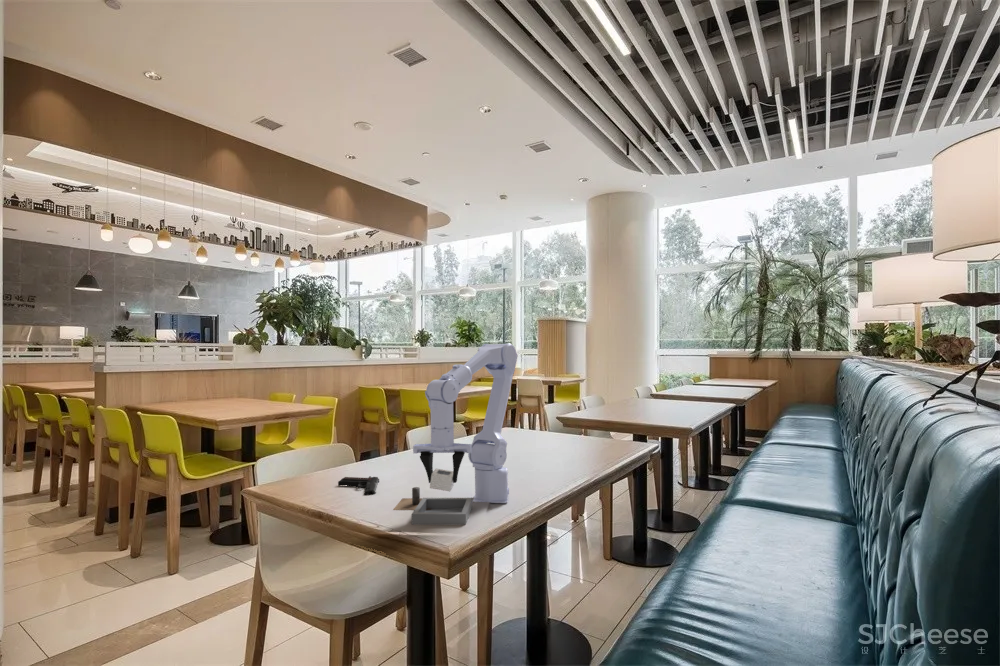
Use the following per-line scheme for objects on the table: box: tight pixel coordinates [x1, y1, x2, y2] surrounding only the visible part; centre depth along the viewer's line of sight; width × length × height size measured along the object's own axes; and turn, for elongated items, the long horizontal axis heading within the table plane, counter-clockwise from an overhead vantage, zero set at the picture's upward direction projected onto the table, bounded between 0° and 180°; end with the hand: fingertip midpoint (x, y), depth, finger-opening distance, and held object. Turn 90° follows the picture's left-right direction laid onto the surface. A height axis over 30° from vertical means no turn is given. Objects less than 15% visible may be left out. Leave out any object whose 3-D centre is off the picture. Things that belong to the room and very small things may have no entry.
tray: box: [411, 497, 473, 526], centre depth 124 cm, size 13×13×3 cm
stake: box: [392, 486, 431, 511], centre depth 134 cm, size 10×10×5 cm
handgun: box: [337, 476, 380, 496], centre depth 151 cm, size 2×18×12 cm
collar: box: [429, 468, 455, 492], centre depth 124 cm, size 5×5×4 cm
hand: (442, 481), depth 124 cm, fingers closed on collar, 5 cm apart
